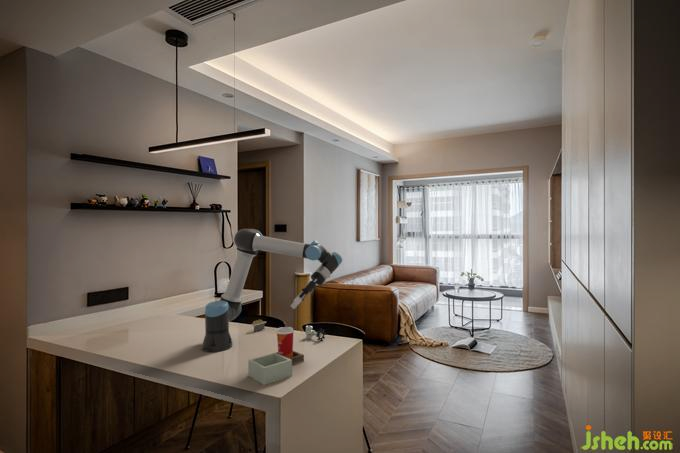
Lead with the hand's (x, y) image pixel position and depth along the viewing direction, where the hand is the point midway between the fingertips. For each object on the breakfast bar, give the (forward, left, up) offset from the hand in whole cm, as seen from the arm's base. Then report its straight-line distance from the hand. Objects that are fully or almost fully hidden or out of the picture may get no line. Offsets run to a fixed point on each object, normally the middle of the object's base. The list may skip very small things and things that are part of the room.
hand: (293, 305), depth 186 cm
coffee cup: (+12, -13, -23) cm, 29 cm away
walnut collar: (+12, -13, -22) cm, 29 cm away
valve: (-7, +18, -23) cm, 30 cm away
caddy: (+22, -27, -22) cm, 42 cm away
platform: (-47, +5, -23) cm, 52 cm away
